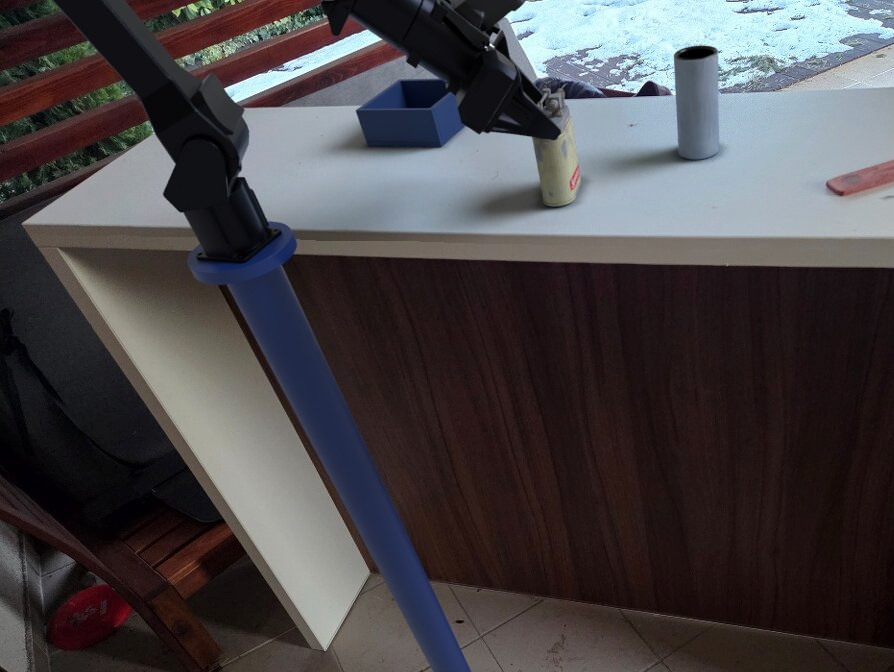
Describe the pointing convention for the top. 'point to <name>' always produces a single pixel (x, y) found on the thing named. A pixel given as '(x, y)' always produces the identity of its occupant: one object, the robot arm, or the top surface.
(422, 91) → the box
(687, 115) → the grey tall cylinder
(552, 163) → the lighter
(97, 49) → the robot arm
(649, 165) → the top surface
